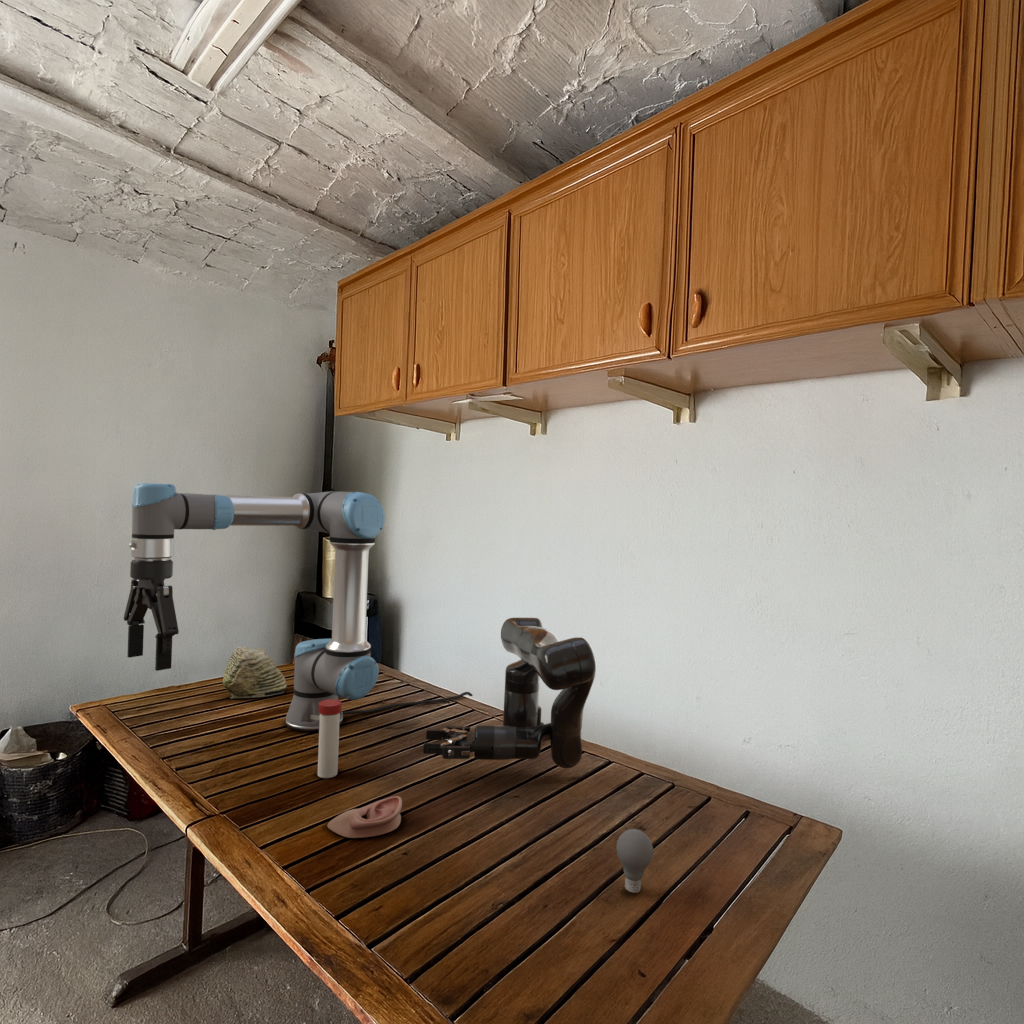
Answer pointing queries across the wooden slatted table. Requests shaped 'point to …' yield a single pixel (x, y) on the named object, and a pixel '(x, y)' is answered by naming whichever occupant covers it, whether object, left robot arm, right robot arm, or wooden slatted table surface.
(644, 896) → the wooden slatted table surface
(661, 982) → the wooden slatted table surface
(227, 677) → the fossil
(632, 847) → the light bulb
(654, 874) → the wooden slatted table surface
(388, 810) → the anatomical model
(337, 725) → the white bottle
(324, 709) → the lid
